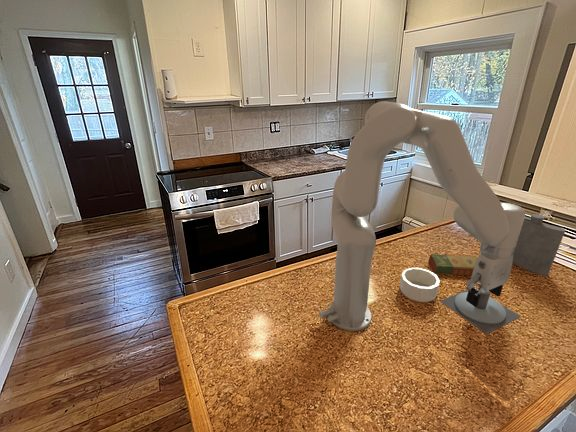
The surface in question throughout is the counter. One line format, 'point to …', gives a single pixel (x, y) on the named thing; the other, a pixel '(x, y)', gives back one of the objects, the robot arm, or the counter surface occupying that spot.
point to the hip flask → (537, 245)
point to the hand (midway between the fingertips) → (482, 298)
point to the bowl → (419, 284)
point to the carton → (452, 264)
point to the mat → (483, 327)
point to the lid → (481, 308)
